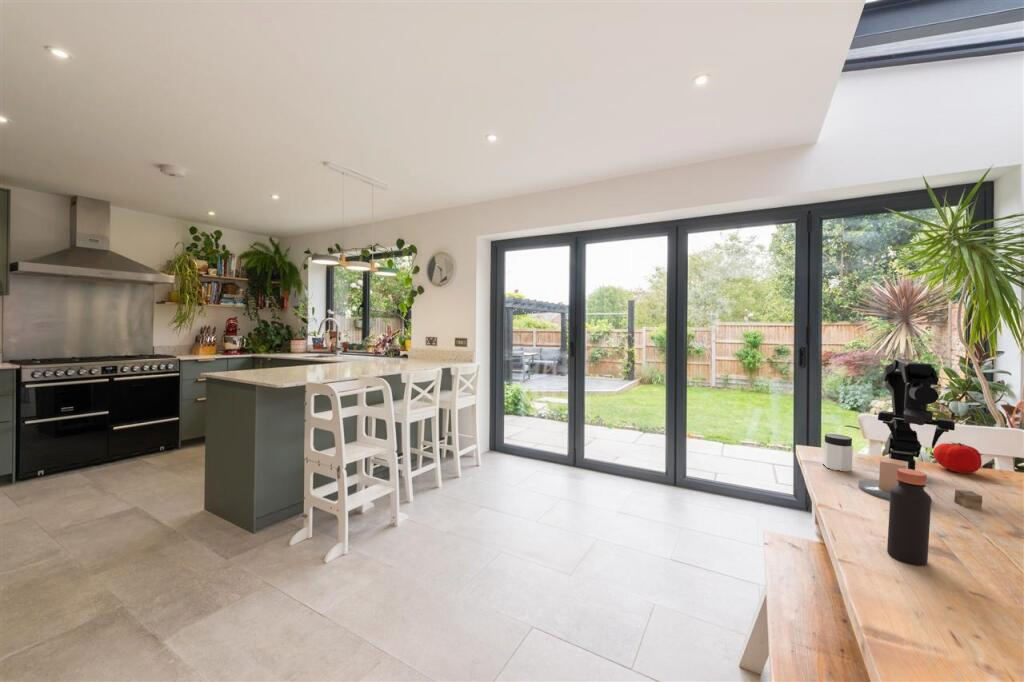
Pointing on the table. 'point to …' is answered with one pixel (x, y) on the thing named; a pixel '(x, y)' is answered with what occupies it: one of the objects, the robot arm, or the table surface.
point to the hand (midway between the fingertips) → (913, 445)
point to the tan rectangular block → (890, 472)
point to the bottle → (909, 518)
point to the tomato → (958, 457)
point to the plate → (873, 488)
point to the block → (968, 499)
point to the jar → (837, 452)
